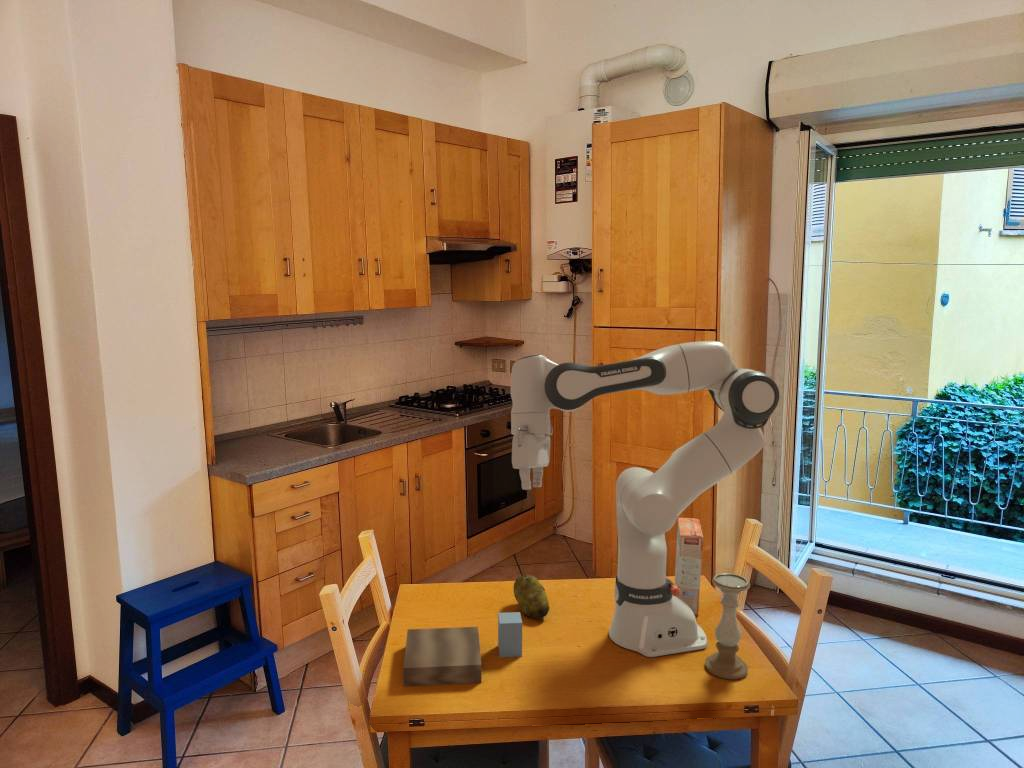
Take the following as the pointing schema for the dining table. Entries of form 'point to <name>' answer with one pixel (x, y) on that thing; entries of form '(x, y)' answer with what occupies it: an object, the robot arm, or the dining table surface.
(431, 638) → the plinth
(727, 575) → the candle holder
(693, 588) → the cracker box
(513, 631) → the block
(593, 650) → the dining table surface
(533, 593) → the potato
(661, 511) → the robot arm
